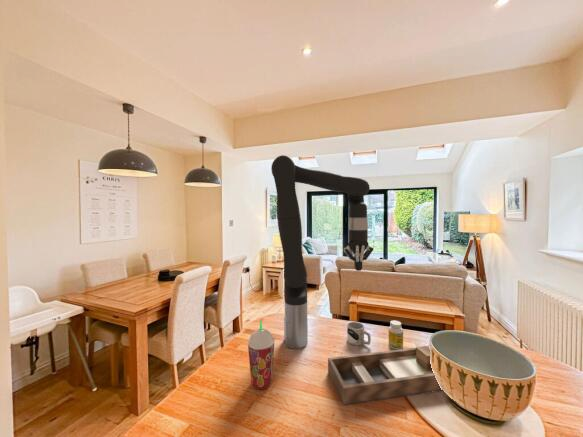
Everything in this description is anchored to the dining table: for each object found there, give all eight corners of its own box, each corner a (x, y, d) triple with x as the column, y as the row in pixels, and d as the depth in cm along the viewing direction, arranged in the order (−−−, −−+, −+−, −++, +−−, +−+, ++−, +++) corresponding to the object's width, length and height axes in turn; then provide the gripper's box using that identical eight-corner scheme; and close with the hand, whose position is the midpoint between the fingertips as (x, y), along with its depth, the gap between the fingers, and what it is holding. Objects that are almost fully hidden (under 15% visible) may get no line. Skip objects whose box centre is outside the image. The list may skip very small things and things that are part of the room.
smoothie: (279, 377, 81) (278, 317, 80) (268, 395, 73) (267, 329, 72) (256, 372, 83) (255, 313, 82) (243, 389, 75) (242, 325, 75)
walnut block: (426, 371, 78) (426, 356, 78) (416, 361, 83) (416, 347, 83) (440, 369, 79) (440, 354, 79) (429, 359, 84) (429, 345, 84)
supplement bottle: (393, 341, 101) (393, 318, 101) (406, 347, 97) (406, 323, 96) (385, 345, 98) (385, 321, 98) (397, 351, 94) (398, 327, 93)
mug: (344, 341, 102) (344, 325, 101) (353, 335, 106) (353, 320, 106) (365, 351, 94) (365, 334, 94) (374, 344, 99) (374, 328, 99)
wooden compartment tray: (343, 405, 69) (343, 388, 69) (328, 372, 83) (327, 357, 82) (456, 388, 75) (457, 372, 74) (424, 360, 88) (424, 346, 88)
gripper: (368, 227, 106) (368, 267, 107) (339, 228, 104) (339, 269, 105) (377, 228, 99) (377, 271, 100) (346, 229, 97) (346, 273, 97)
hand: (358, 270), depth 102 cm, fingers closed
